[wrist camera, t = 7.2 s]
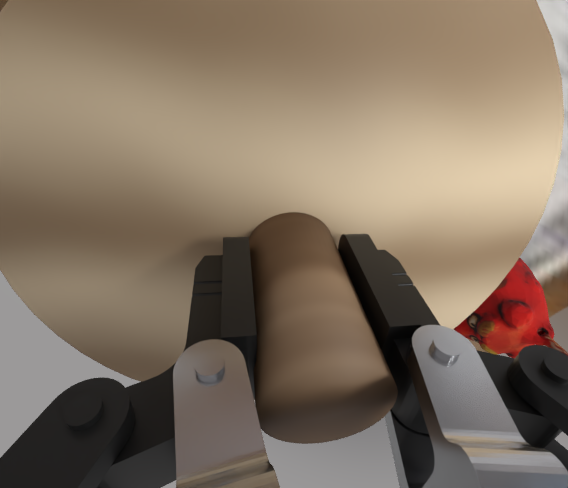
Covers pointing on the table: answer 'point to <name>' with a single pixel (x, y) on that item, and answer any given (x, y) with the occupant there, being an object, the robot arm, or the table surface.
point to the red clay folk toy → (511, 316)
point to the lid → (269, 174)
